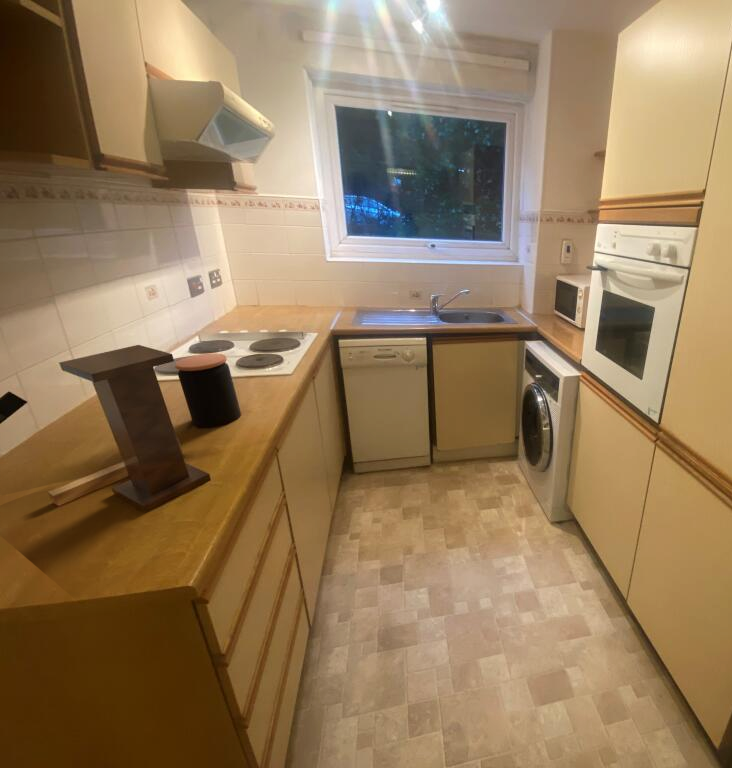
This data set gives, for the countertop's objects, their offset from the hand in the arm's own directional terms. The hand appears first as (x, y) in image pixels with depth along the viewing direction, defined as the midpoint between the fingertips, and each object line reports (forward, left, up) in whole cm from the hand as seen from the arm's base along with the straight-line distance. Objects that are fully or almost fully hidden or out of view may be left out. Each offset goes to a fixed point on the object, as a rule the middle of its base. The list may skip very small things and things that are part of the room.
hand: (2, 388), depth 75 cm
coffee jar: (+27, +22, -24) cm, 42 cm away
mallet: (+9, +5, -24) cm, 26 cm away
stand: (+17, -4, -24) cm, 30 cm away
